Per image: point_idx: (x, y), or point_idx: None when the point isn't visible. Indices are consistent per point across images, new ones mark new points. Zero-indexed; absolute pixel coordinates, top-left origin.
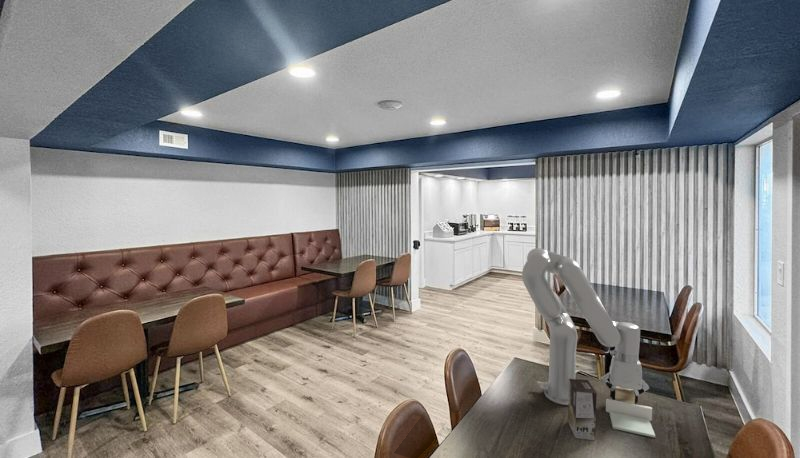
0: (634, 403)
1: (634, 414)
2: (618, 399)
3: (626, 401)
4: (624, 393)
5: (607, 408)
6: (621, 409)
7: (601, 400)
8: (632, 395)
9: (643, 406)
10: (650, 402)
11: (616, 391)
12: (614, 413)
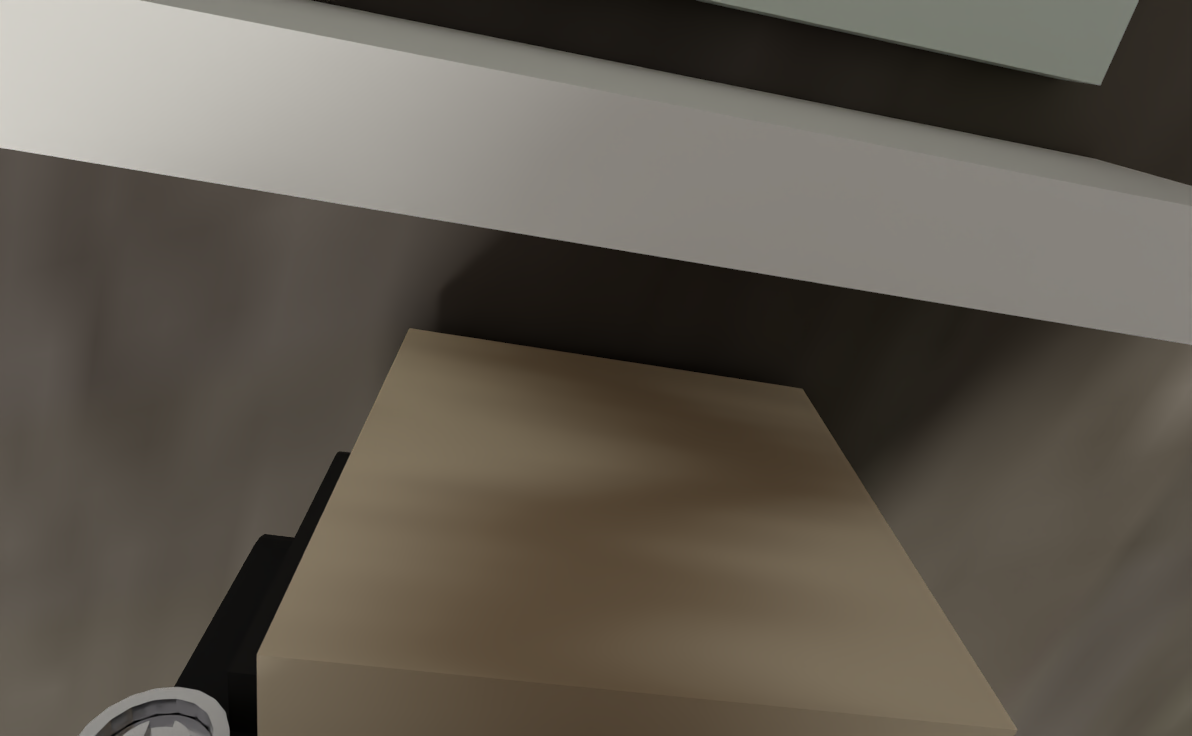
0: (364, 429)
1: (476, 38)
2: (806, 498)
3: (587, 464)
4: (702, 679)
5: (1137, 175)
6: (835, 116)
7: (935, 575)
8: (380, 632)
9: (53, 78)
10: (8, 715)
11: (1003, 728)
12: (1012, 19)
